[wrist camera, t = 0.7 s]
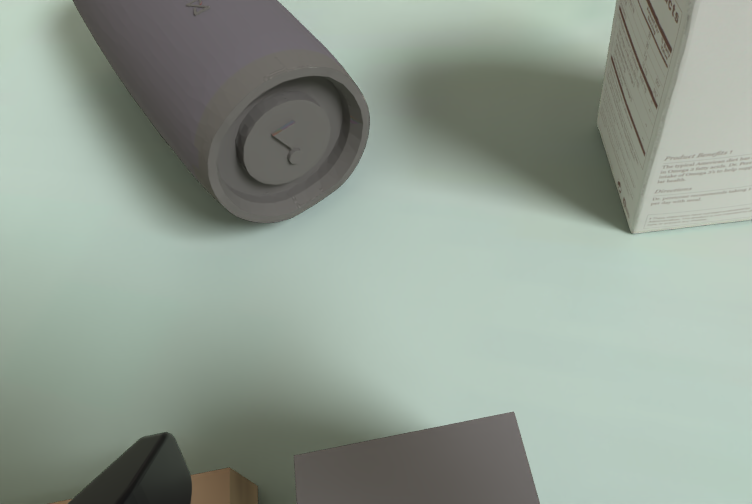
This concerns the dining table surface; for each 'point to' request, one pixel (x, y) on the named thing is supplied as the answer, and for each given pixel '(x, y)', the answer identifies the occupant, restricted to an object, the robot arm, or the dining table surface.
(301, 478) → the grey rectangular block
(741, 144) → the supplement box
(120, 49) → the bluetooth speaker
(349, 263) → the dining table surface
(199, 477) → the brown wooden flat slab
